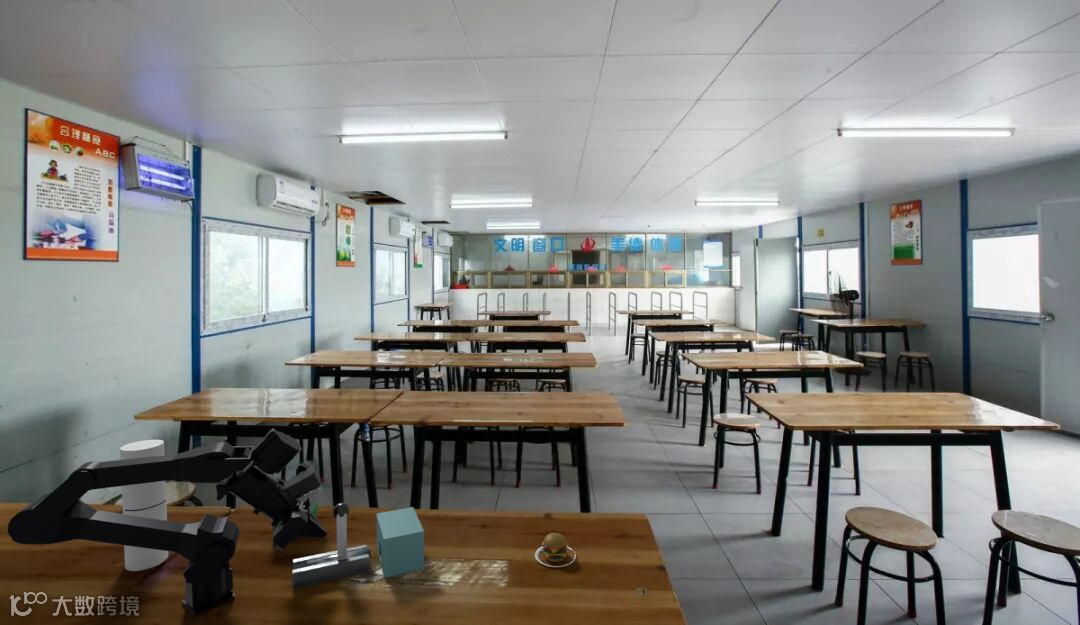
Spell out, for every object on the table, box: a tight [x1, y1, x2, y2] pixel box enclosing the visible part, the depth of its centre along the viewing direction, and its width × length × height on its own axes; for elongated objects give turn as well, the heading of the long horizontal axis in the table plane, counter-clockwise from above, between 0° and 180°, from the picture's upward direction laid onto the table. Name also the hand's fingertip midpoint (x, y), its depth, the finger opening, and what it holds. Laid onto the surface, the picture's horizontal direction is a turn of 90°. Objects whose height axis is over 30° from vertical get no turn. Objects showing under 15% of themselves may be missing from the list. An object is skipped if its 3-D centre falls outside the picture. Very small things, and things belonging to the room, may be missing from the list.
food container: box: [271, 486, 322, 540], centre depth 115 cm, size 12×6×10 cm, turn 143°
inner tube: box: [307, 502, 372, 567], centre depth 100 cm, size 12×3×13 cm, turn 115°
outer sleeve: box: [292, 544, 370, 590], centre depth 100 cm, size 14×5×3 cm, turn 115°
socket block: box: [376, 506, 425, 579], centre depth 105 cm, size 8×12×8 cm, turn 25°
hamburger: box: [534, 532, 577, 568], centre depth 107 cm, size 12×12×6 cm
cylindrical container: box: [119, 439, 169, 572], centre depth 103 cm, size 7×7×25 cm
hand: (325, 535), depth 99 cm, fingers closed
